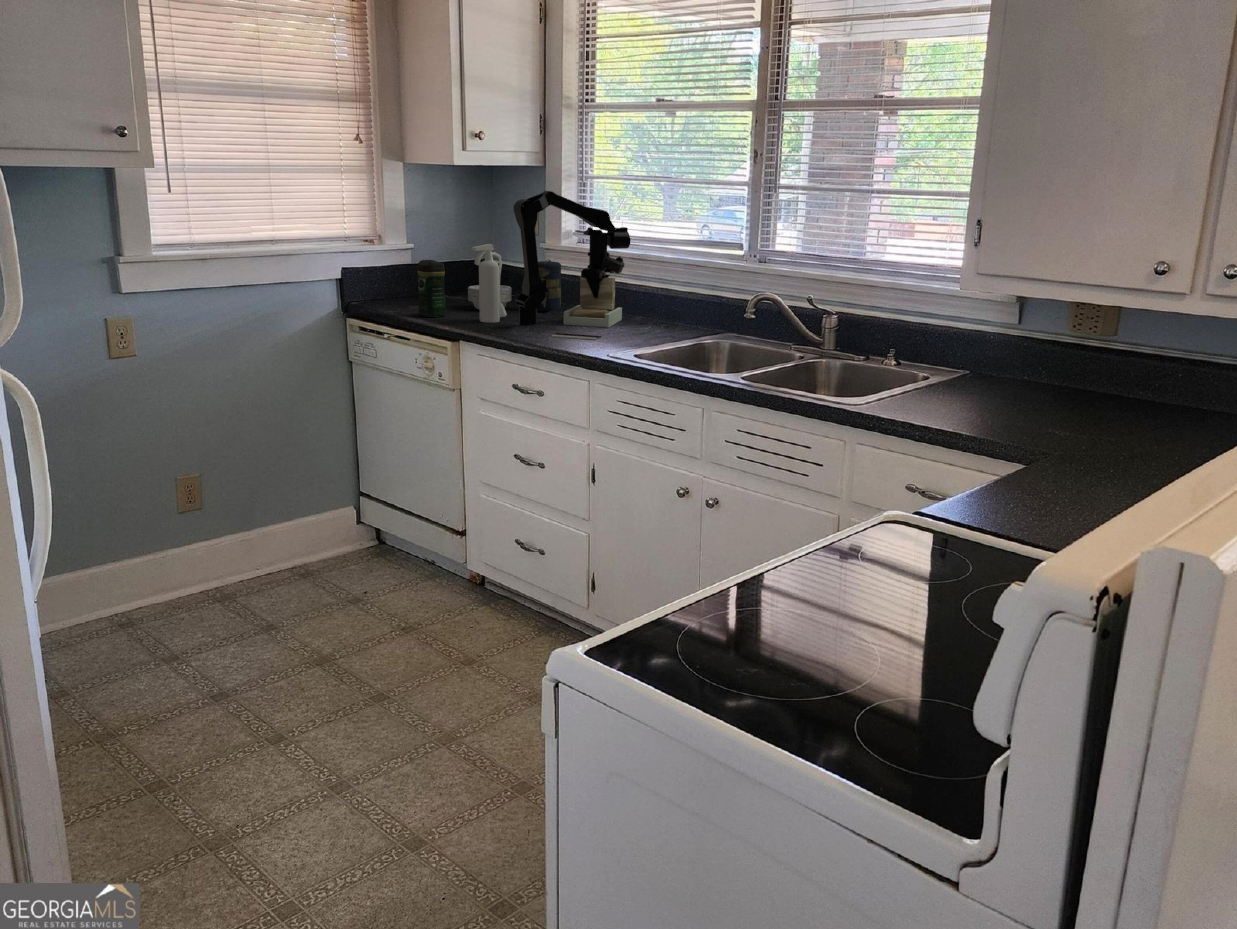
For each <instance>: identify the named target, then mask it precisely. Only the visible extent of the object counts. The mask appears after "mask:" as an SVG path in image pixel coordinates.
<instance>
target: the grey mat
mask: <svg viewBox="0 0 1237 929" xmlns="http://www.w3.org/2000/svg"><path fill="white" fill-rule="evenodd" d="M551 337H552V338H561V339H562V338H563V339H578V340H589V341H590V340H592V341H597V340H599V339H600V338H602V337H603V335H592V334H591V335H590V334H575V333H559V332H556V333H554V334H552V335H551Z"/></svg>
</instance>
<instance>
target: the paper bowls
mask: <svg viewBox="0 0 1237 929" xmlns="http://www.w3.org/2000/svg"><path fill="white" fill-rule="evenodd" d="M467 287H468V288H467V300H468V301H469V302H472V304H473V306H474V308H475V309H477V310H478V311H480V308H479V284H478V285H477V284H476V285H470V286H467ZM499 298H500V302H501V304H503V307H504V309H505V308H506V306H507V303H508V302H512V287H511V286H509V285H504V284H503V285H501V284H500V297H499Z"/></svg>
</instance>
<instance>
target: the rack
mask: <svg viewBox="0 0 1237 929" xmlns="http://www.w3.org/2000/svg"><path fill="white" fill-rule="evenodd" d="M577 308H580V304H578V305H575V306H573V307H571V308H569V309H567V310H564V311H563V325H564V326H565V325H567V326H569V325H570V326H582V327H596V328H610V327H611V326H613V325H615V324H617V323H619V322H620V321H622V320H623V307H617V308H615V309H613V310H611V311H609V310H607V314H605V319H603V318H588V317H573V316H572V314H574V310H575V309H577ZM580 309H583V308H580Z"/></svg>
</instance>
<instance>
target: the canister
mask: <svg viewBox="0 0 1237 929" xmlns="http://www.w3.org/2000/svg"><path fill="white" fill-rule="evenodd" d="M538 267H539V275H540V277H541V278H542V279H545V280H546V289H547V291H548V292H546V297H545V299H544V300H543V301H542V303H541V306H540V308H539V309H537V312H538V311H540V312H551V311H555V310H556V311H558V310H560V309H561V307H562V306H561V305H562V304H561V301H562V264H561V263H560V262H558V261H552V260H551V259H549V258H547V259H546V260H544V261H543V260H542V261H541V260H540V261H539V260H538Z"/></svg>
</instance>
